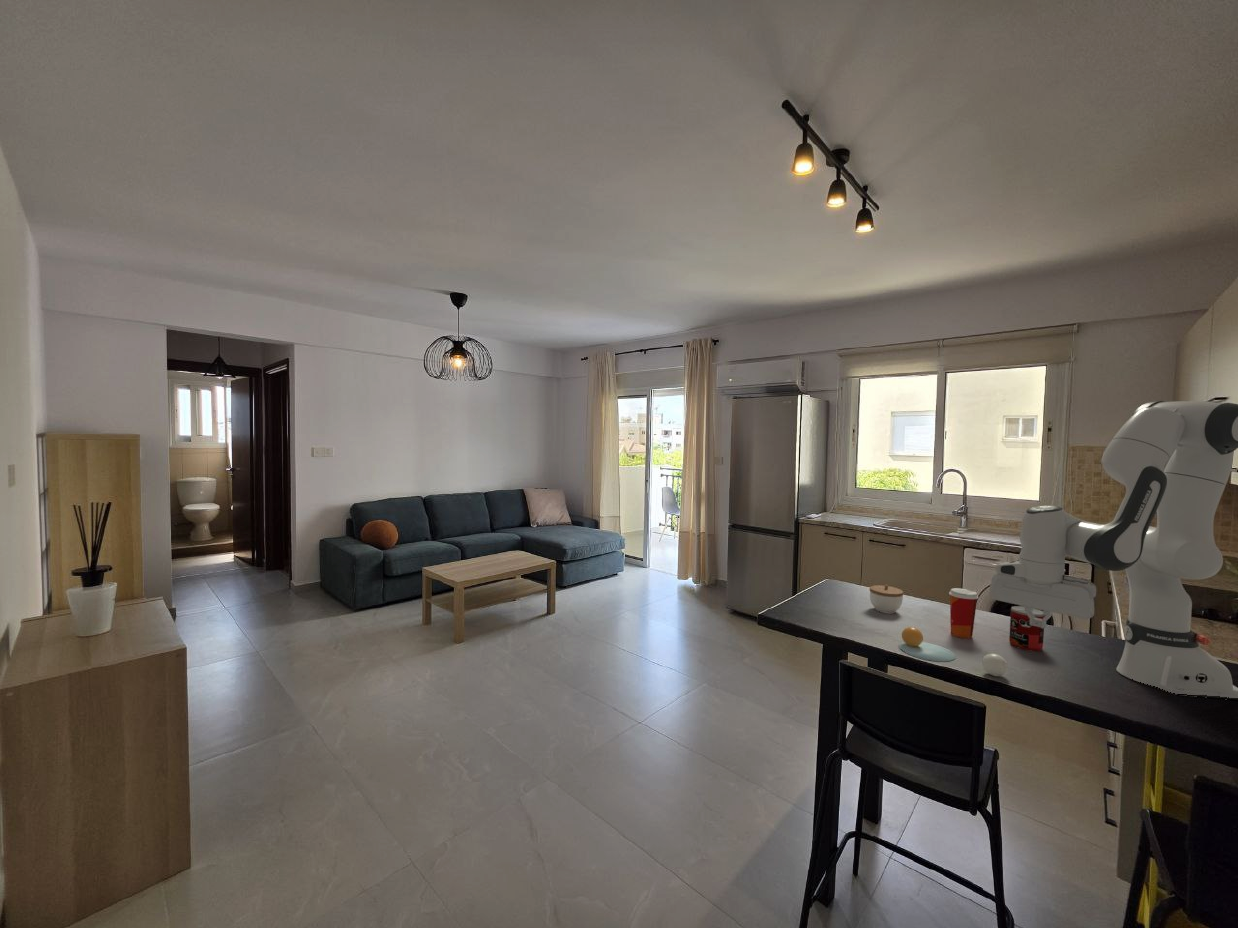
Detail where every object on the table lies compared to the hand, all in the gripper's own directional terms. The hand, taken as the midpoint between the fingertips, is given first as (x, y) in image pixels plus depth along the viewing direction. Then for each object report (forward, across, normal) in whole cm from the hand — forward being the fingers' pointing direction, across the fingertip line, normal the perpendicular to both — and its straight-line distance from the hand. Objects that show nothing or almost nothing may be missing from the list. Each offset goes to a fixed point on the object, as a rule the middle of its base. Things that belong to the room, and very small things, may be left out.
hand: (1037, 626), depth 129 cm
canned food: (+15, +9, -29) cm, 34 cm away
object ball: (+12, +29, 0) cm, 32 cm away
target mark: (+15, +25, 0) cm, 29 cm away
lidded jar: (+15, +50, -27) cm, 58 cm away
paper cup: (+15, +24, -23) cm, 37 cm away
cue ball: (+12, +8, +2) cm, 15 cm away
